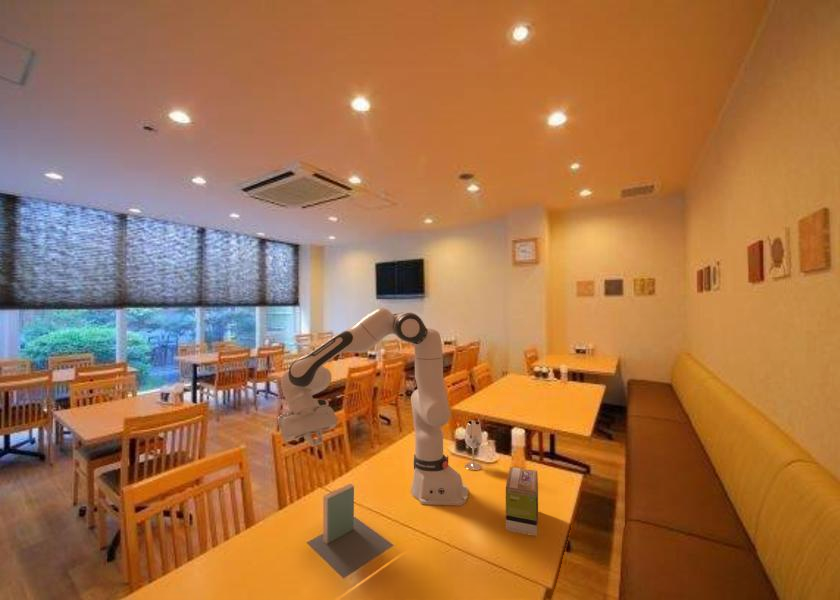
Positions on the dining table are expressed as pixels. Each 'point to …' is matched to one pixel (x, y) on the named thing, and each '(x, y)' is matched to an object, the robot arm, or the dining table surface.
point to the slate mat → (351, 548)
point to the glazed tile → (338, 513)
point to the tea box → (522, 501)
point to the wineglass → (473, 441)
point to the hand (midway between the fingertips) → (317, 444)
